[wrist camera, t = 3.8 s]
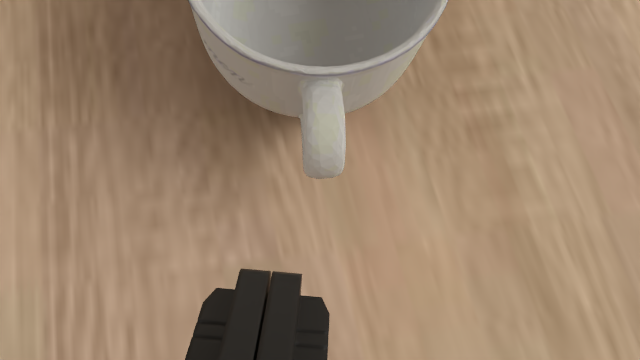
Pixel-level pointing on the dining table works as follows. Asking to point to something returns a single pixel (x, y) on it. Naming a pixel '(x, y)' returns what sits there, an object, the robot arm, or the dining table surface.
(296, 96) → the teacup
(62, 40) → the dining table surface
